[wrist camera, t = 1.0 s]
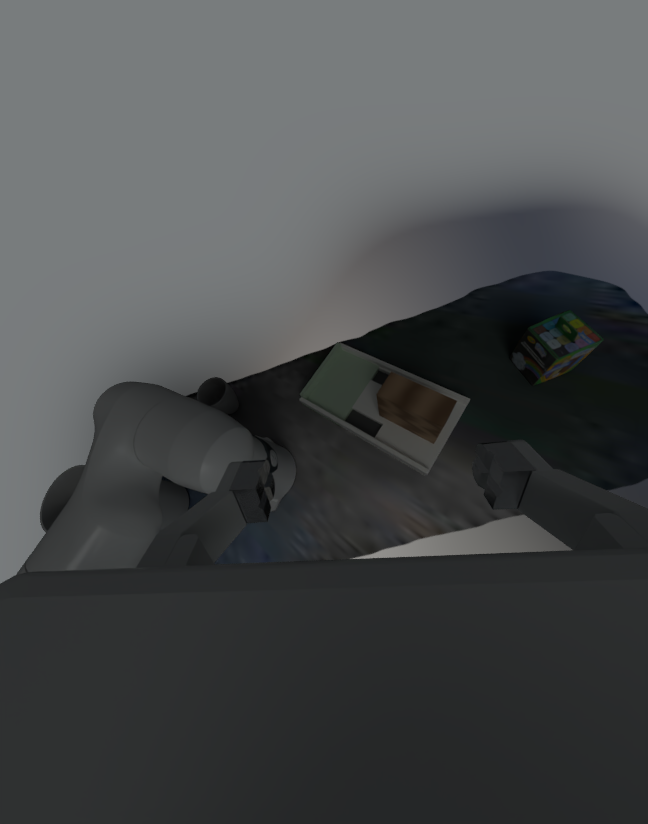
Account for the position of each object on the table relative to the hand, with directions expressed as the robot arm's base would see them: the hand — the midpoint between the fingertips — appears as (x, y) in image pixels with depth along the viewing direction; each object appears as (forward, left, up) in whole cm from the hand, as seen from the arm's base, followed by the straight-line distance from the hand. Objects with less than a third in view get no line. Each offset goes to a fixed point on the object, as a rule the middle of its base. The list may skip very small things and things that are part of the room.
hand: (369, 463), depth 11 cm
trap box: (+4, +26, -54) cm, 60 cm away
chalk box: (+42, +26, -54) cm, 73 cm away
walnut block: (+10, +19, -52) cm, 57 cm away
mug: (-39, +37, -54) cm, 76 cm away
